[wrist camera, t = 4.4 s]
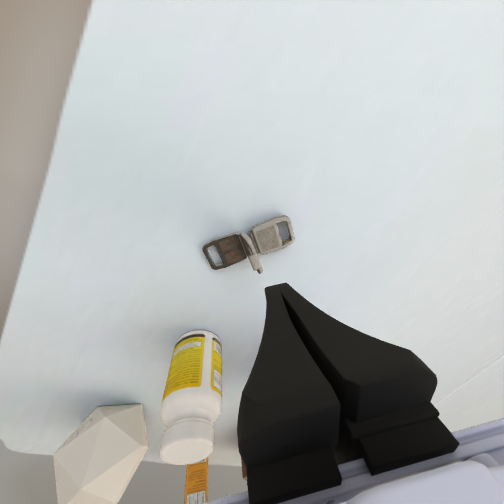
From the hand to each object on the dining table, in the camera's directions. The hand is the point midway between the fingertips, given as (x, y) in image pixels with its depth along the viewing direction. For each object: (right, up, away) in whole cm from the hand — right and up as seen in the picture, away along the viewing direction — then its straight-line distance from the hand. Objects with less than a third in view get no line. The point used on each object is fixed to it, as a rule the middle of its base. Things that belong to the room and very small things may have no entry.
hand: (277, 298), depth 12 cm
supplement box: (-10, -30, +22) cm, 39 cm away
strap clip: (-2, +4, +7) cm, 9 cm away
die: (-19, -19, +15) cm, 31 cm away
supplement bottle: (-8, -8, +12) cm, 17 cm away
